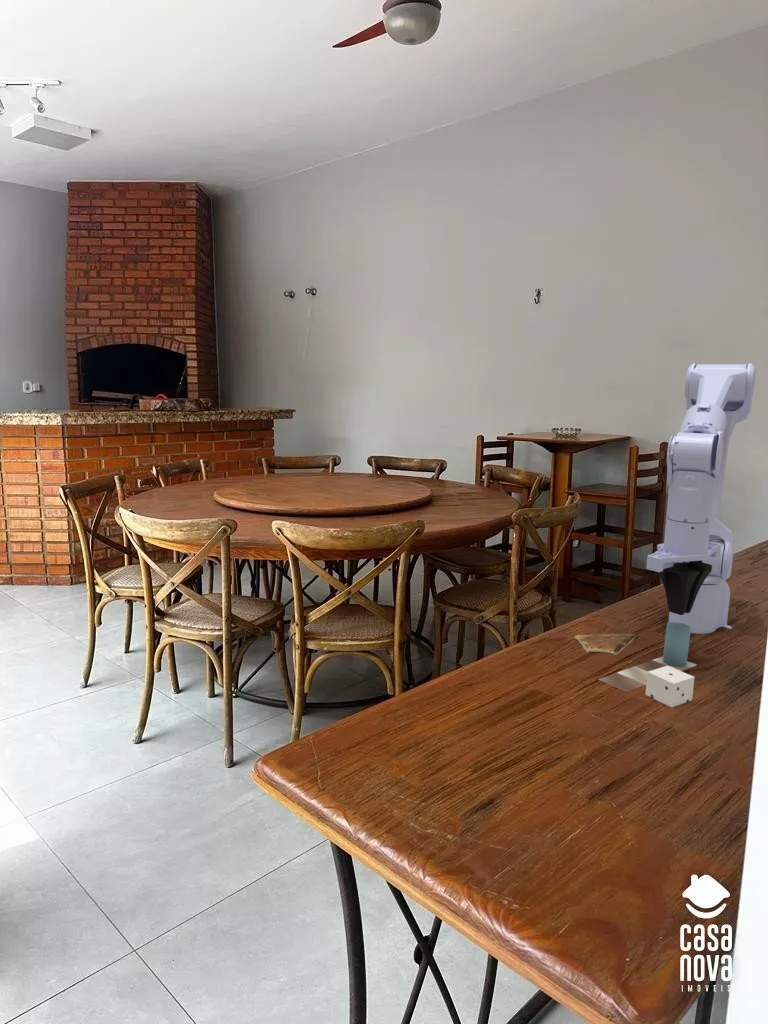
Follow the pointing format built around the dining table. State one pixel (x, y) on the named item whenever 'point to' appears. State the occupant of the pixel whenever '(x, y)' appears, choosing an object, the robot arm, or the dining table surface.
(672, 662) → the blue capsule cylinder
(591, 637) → the shard
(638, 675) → the board
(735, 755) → the dining table surface
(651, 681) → the die
